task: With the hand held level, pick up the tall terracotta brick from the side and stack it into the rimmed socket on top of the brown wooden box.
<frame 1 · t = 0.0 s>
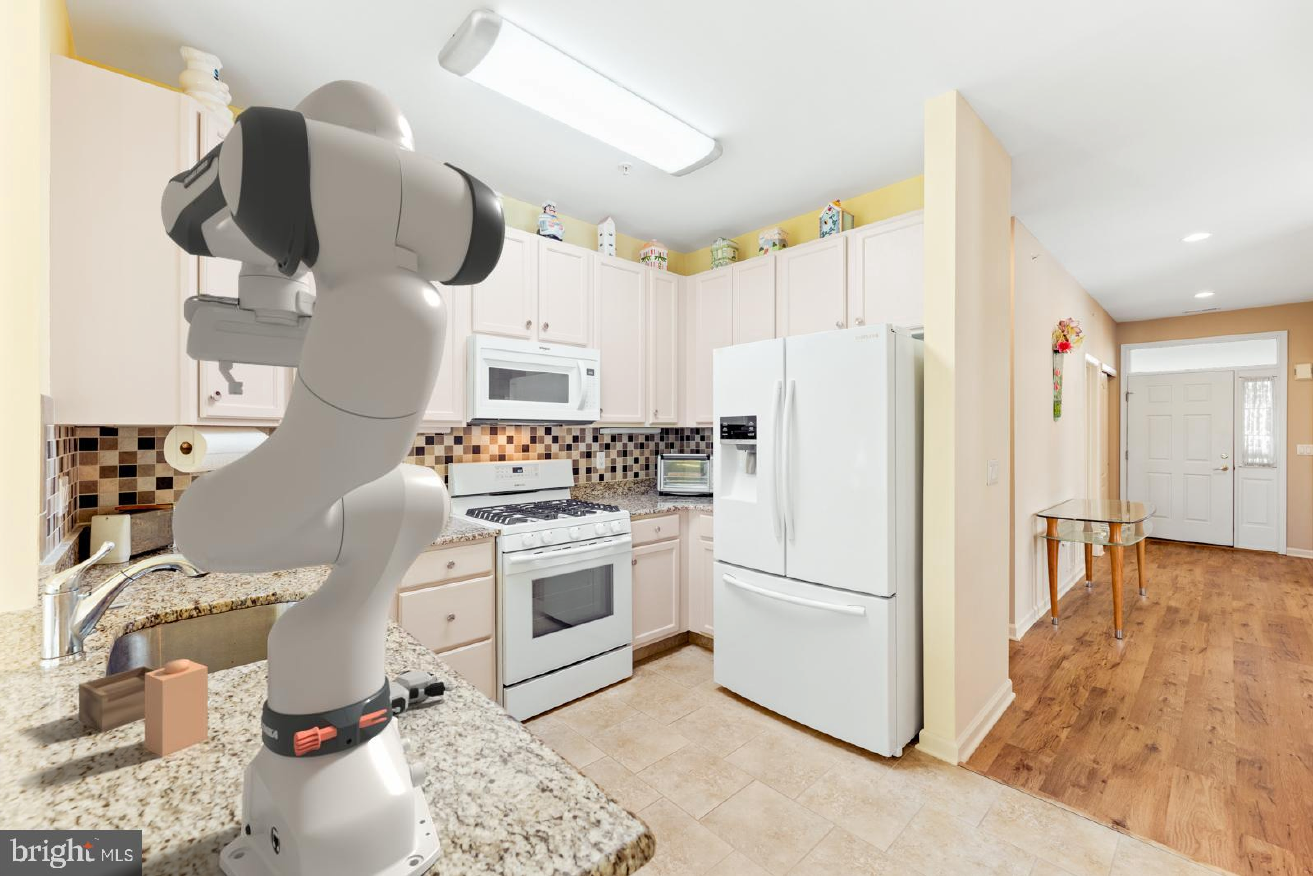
hand: (274, 396, 83), 48 cm above the counter, tool pointing down, fingers open, 8 cm apart
robot toy: (393, 710, 86), on the counter
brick: (176, 743, 76), on the counter
brown wooden box: (126, 713, 84), on the counter
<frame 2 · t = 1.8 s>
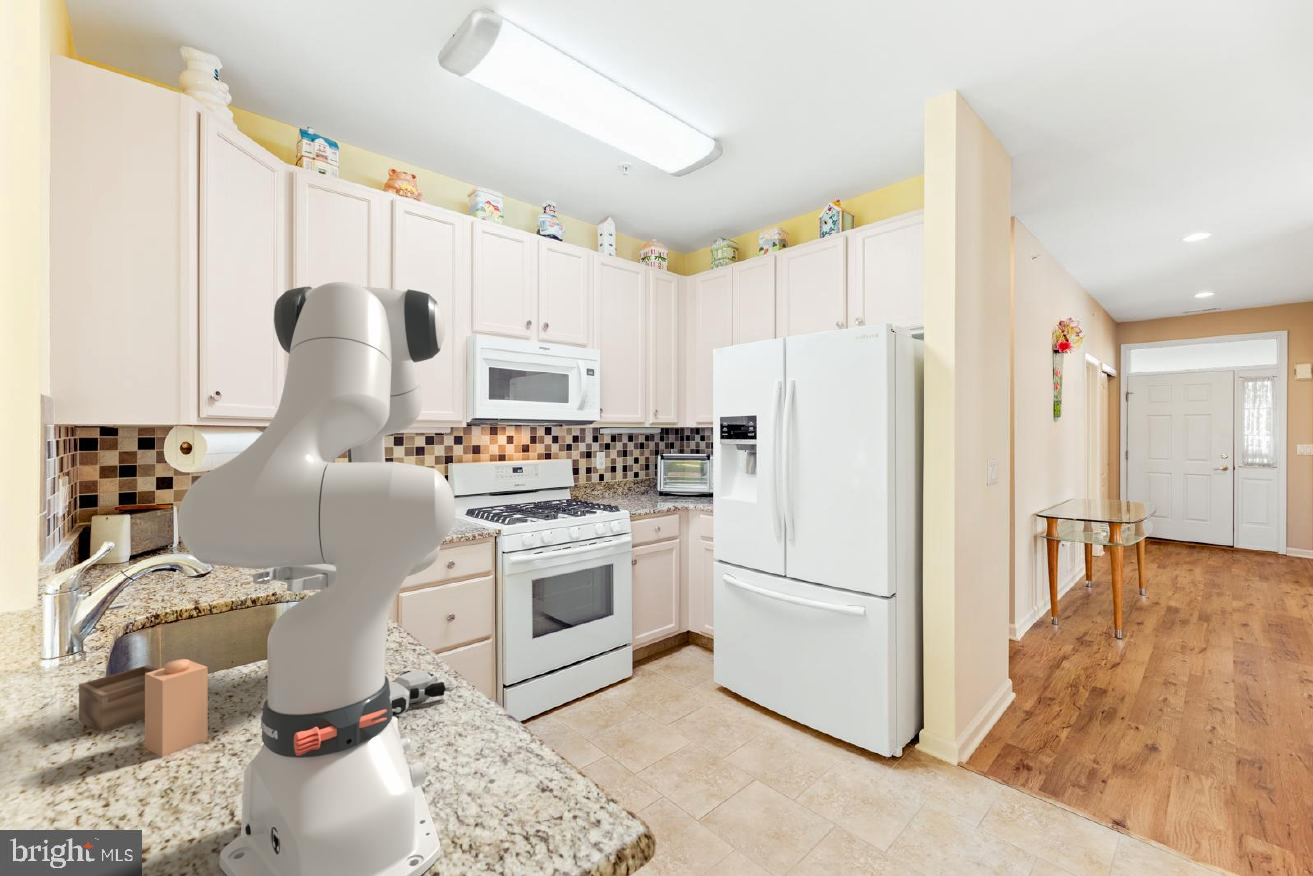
hand: (271, 582, 87), 19 cm above the counter, tool horizontal, fingers open, 8 cm apart
nothing on the counter moved.
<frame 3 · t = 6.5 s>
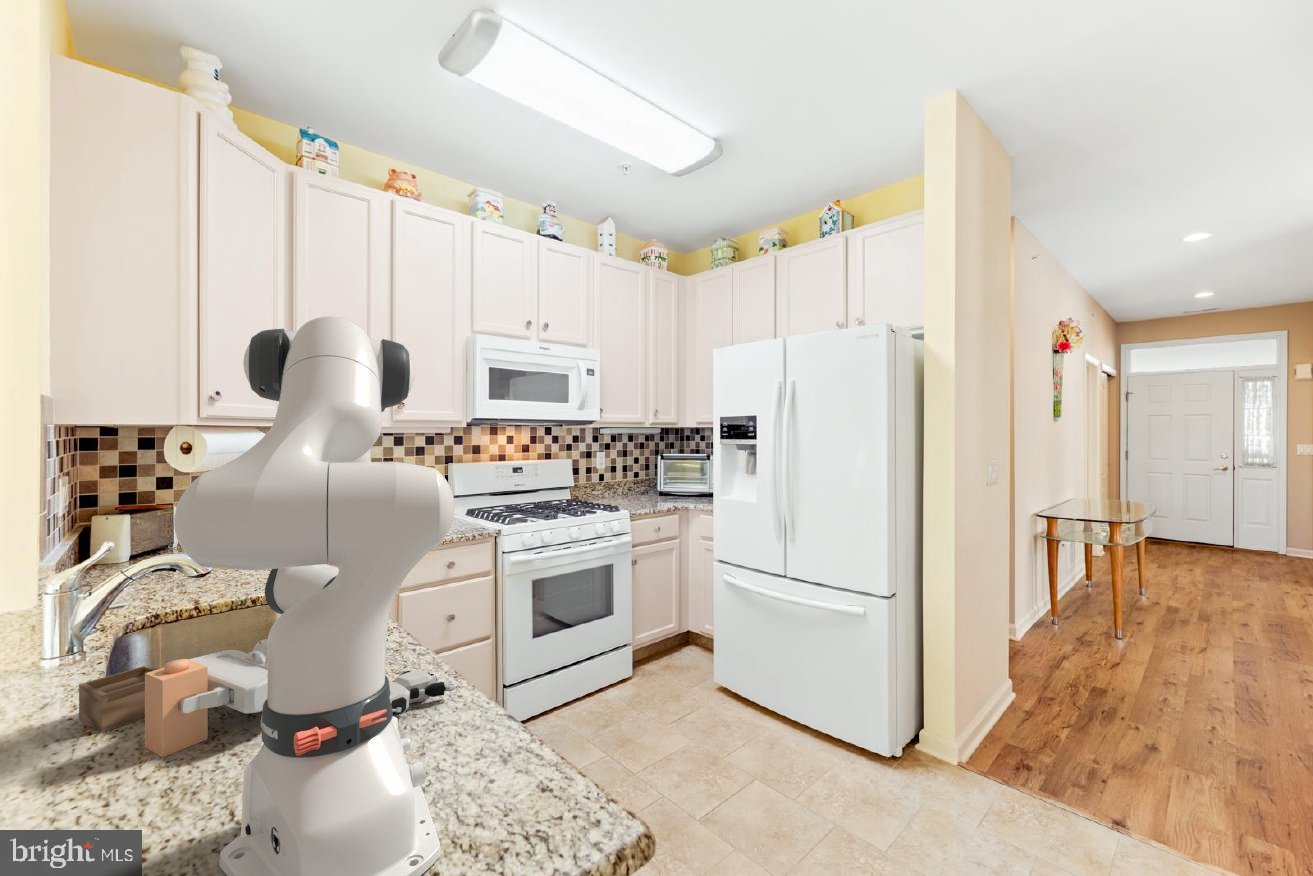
hand: (168, 701, 75), 6 cm above the counter, tool horizontal, fingers closed on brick, 5 cm apart
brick: (176, 743, 76), on the counter, touching gripper
everything else where it was.
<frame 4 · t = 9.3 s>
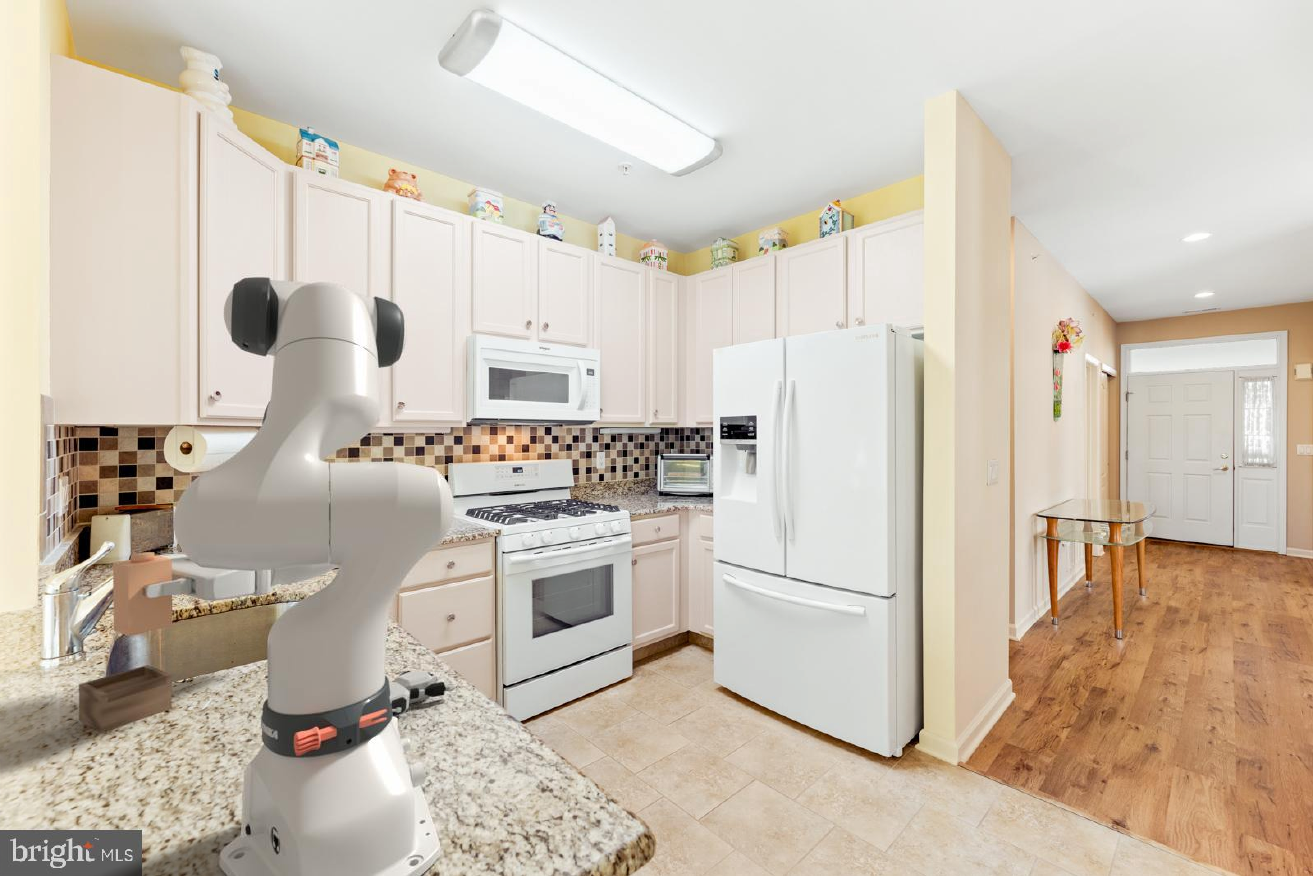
hand: (134, 588, 82), 20 cm above the counter, tool horizontal, fingers closed on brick, 5 cm apart
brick: (143, 628, 83), point 14 cm above the counter, touching gripper
everything else where it was.
when the fingers open (11 cm above the counter, at t = 12.5 s): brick drops 1 cm, resting on brown wooden box.
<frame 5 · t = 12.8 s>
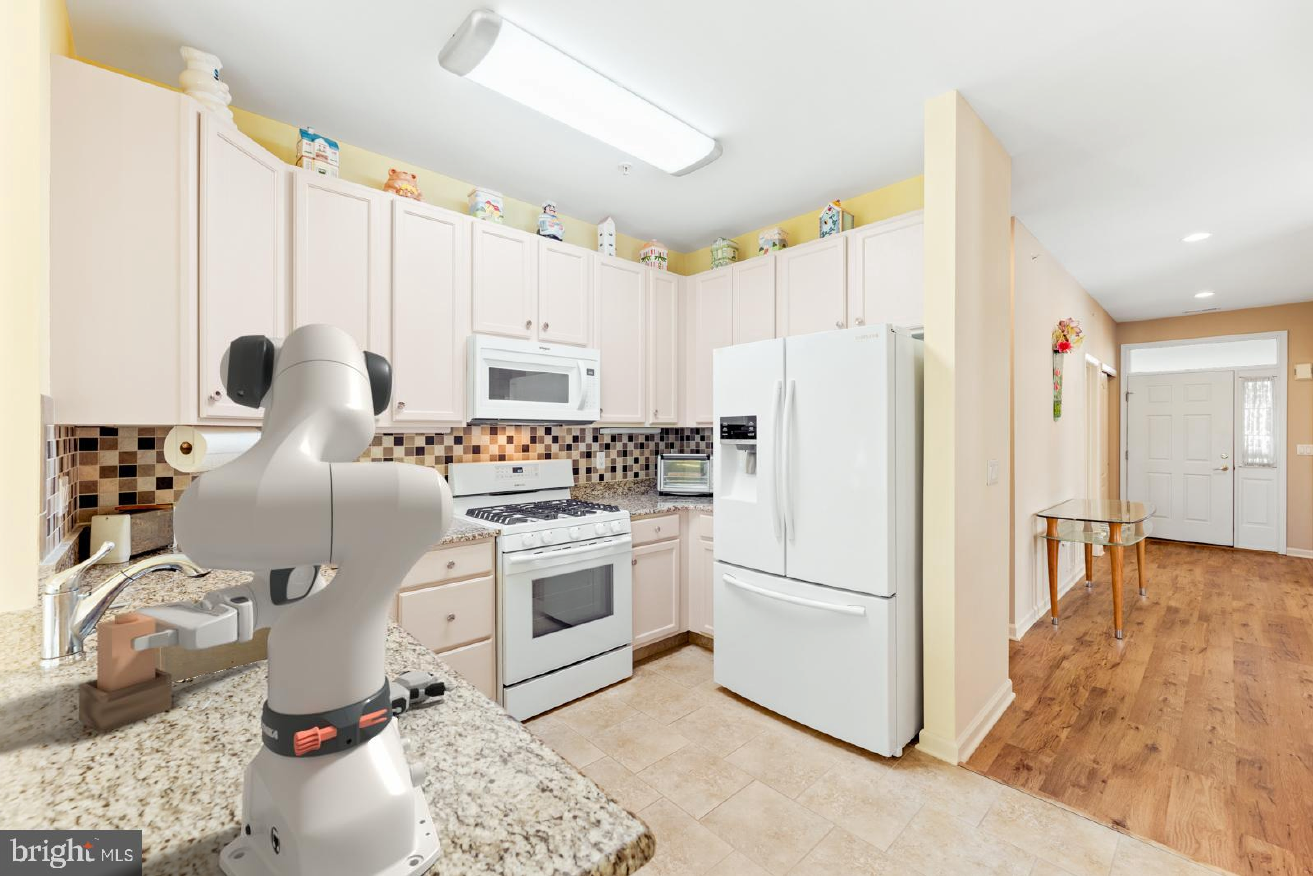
hand: (118, 639, 84), 11 cm above the counter, tool horizontal, fingers open, 8 cm apart
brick: (126, 687, 84), point 4 cm above the counter, touching brown wooden box
everything else where it was.
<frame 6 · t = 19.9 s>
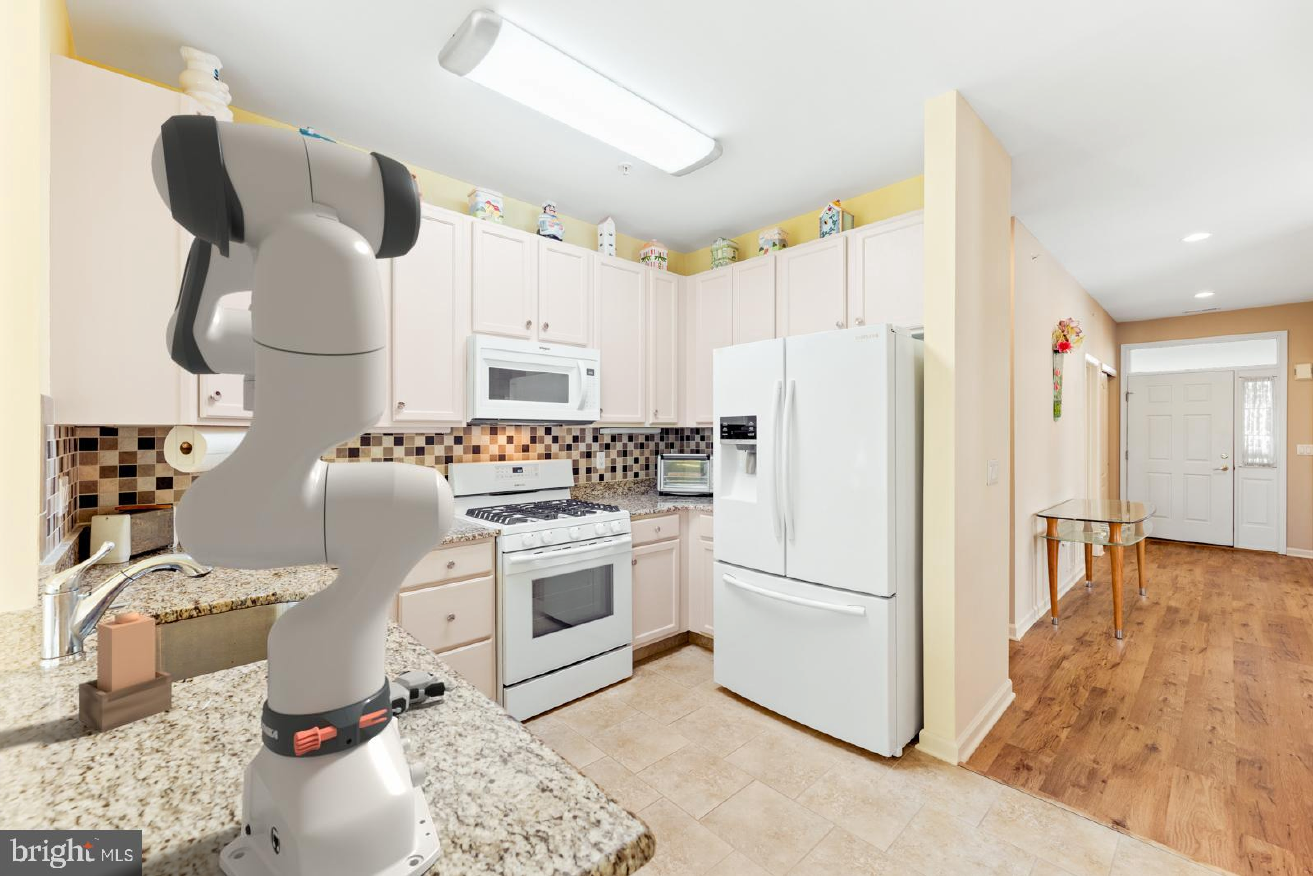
hand: (276, 484, 92), 34 cm above the counter, tool pointing down, fingers open, 8 cm apart
nothing on the counter moved.
at the end: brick 0.0 cm off-centre on the brown wooden box, point 4.0 cm above the brown wooden box's base; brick tilted 0°; the gripper is holding nothing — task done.
